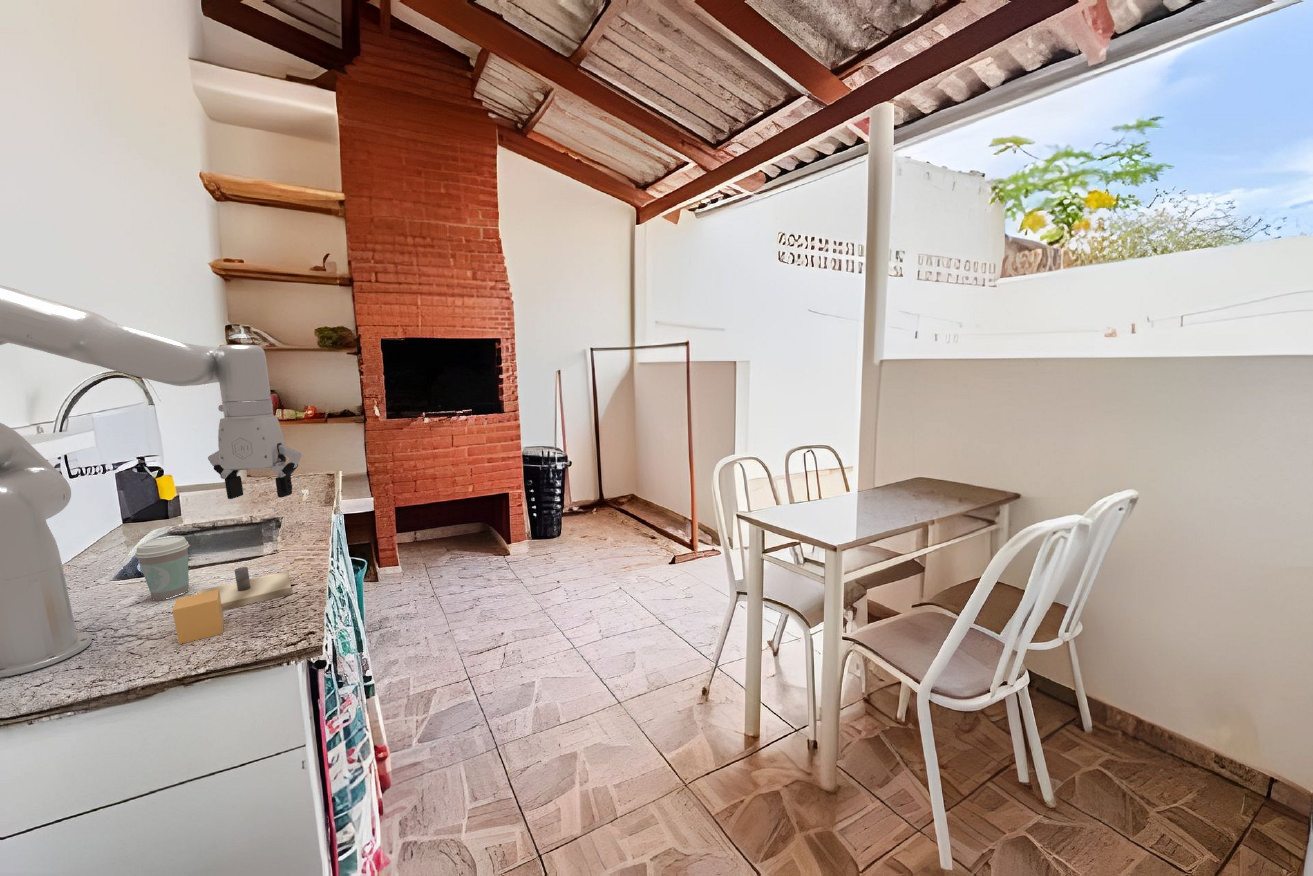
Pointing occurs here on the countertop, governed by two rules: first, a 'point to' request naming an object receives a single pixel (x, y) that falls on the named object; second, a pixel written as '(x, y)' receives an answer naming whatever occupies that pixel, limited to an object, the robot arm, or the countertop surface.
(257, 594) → the post board
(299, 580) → the countertop surface
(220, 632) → the tan matte cube
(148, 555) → the coffee cup
